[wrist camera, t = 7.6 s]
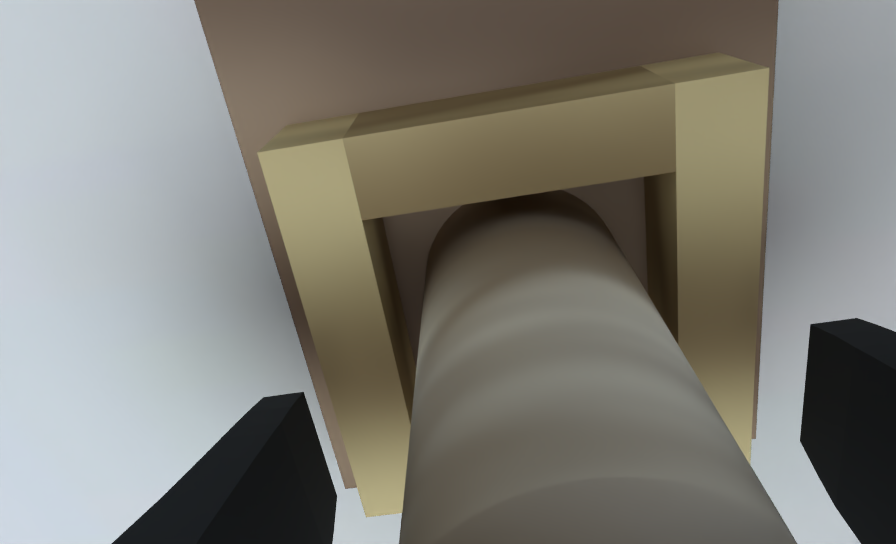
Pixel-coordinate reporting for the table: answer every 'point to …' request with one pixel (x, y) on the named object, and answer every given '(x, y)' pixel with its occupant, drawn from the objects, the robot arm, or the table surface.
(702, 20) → the dock
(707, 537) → the beige cylinder
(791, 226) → the table surface
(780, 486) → the table surface
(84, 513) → the table surface
